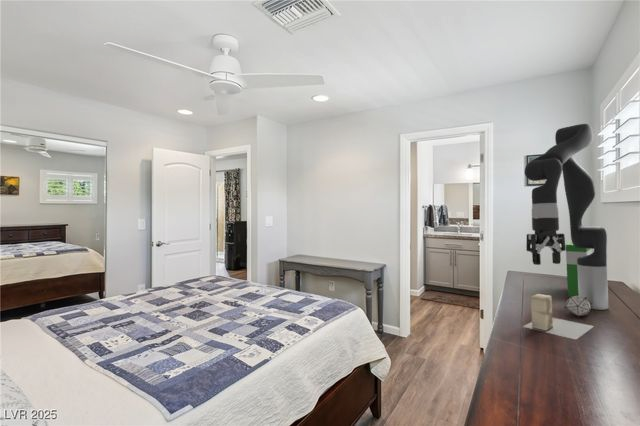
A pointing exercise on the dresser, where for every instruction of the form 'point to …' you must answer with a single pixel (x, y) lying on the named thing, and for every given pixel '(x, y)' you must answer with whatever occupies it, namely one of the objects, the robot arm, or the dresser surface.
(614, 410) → the dresser surface
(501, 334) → the dresser surface
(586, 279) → the robot arm
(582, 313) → the game die
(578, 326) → the felt mat
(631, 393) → the dresser surface
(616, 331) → the dresser surface
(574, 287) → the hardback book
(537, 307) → the maple block
